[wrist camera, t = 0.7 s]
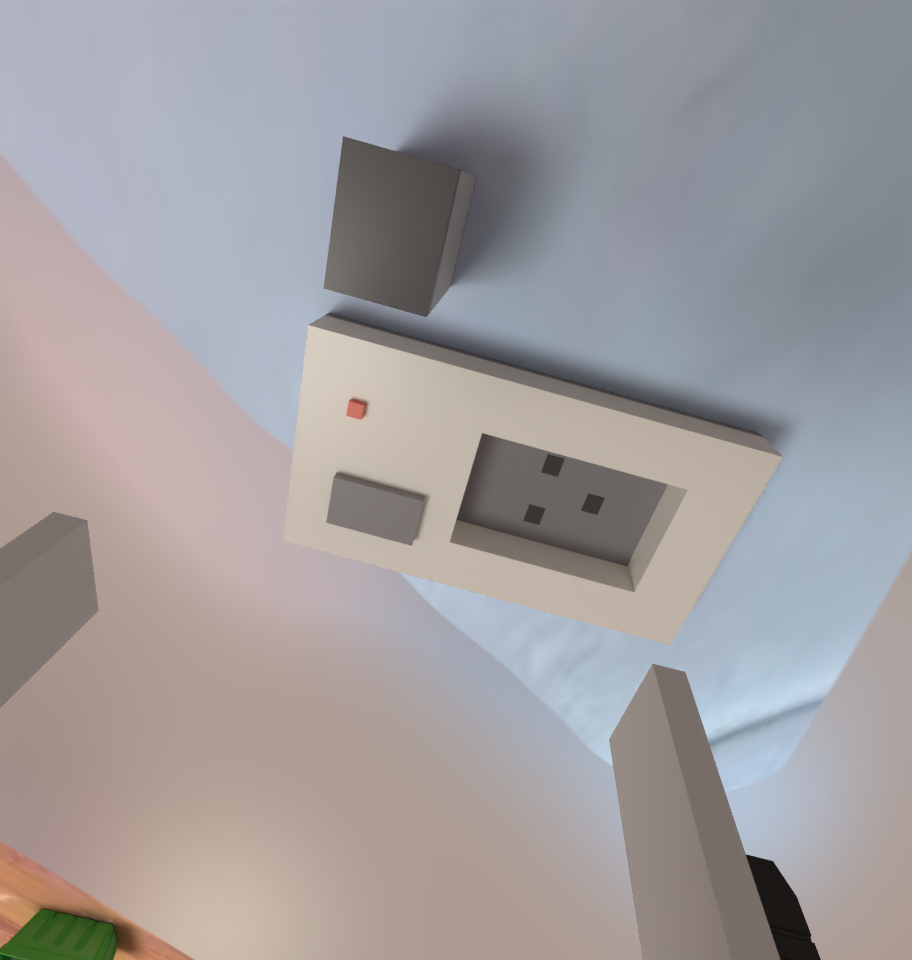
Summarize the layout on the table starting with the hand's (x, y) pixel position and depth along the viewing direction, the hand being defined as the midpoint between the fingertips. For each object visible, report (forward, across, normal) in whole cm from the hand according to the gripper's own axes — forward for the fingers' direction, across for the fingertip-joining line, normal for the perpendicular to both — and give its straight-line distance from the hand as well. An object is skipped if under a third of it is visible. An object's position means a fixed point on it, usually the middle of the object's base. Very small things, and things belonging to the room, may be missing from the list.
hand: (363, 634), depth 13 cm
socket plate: (+19, +4, -5) cm, 21 cm away
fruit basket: (+19, -29, -77) cm, 85 cm away
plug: (+20, -3, +7) cm, 21 cm away
